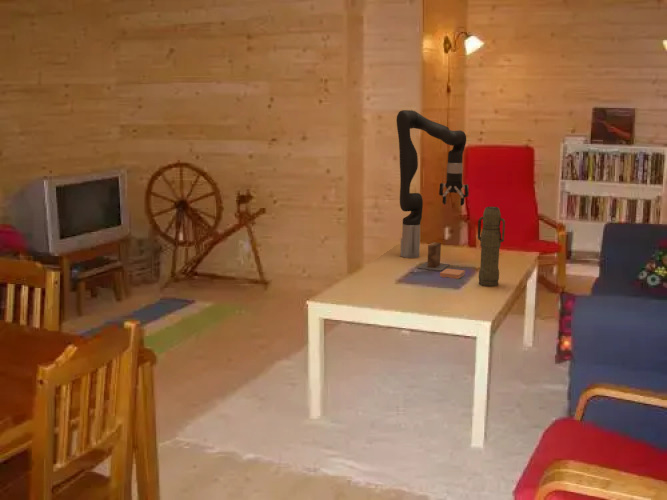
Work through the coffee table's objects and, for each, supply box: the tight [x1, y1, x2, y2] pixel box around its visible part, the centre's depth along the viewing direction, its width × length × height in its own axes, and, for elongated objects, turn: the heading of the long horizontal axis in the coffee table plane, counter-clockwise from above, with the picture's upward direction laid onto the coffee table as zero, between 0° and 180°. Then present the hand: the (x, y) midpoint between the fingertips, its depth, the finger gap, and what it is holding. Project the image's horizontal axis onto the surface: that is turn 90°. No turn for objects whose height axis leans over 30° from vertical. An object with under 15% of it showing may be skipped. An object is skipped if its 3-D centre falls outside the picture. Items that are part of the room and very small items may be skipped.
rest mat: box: [417, 261, 450, 272], centre depth 381 cm, size 12×14×1 cm
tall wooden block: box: [427, 241, 442, 268], centre depth 380 cm, size 4×8×11 cm, turn 156°
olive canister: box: [477, 206, 506, 288], centre depth 345 cm, size 9×12×35 cm
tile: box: [439, 268, 466, 280], centre depth 364 cm, size 9×2×10 cm
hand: (453, 204), depth 381 cm, fingers open, 8 cm apart
